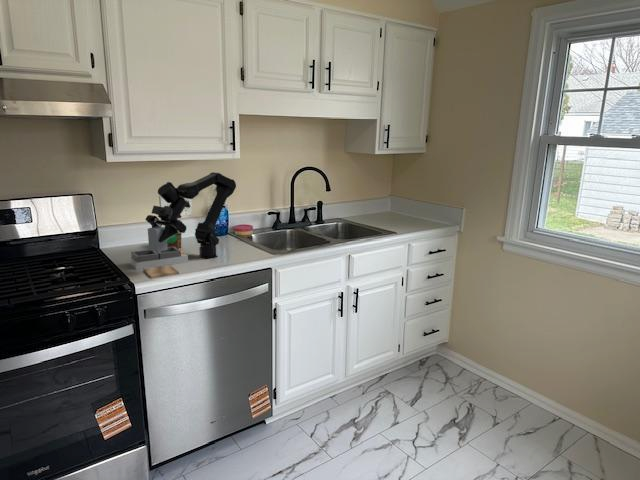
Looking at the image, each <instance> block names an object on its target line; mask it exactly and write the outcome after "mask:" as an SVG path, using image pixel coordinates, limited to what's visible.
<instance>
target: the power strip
mask: <svg viewBox="0 0 640 480" xmlns="http://www.w3.org/2000/svg"><path fill="white" fill-rule="evenodd" d="M167 249H168V250H164V251H161V252H154V251H150V250H149V249H143V250H135V251H130V254H131V255H130V256H131V257H130V265H131V266H132V267H133V268H134V269H135V270H136V271H138V270H143V269H147V268H154V267H160V266H167V265H171V266H172V265H176V264H183V263H188V262H189V256H188V254H186V253H185V251H184V250H182V249H181V250H180V249H177V248H176V247H174V246H173V247H167Z"/></svg>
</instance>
